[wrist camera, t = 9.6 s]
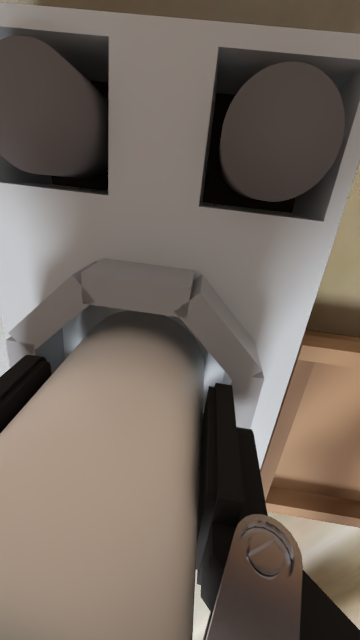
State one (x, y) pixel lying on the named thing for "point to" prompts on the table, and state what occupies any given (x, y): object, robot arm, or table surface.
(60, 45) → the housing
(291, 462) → the tray
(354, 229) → the table surface
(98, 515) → the cylinder
